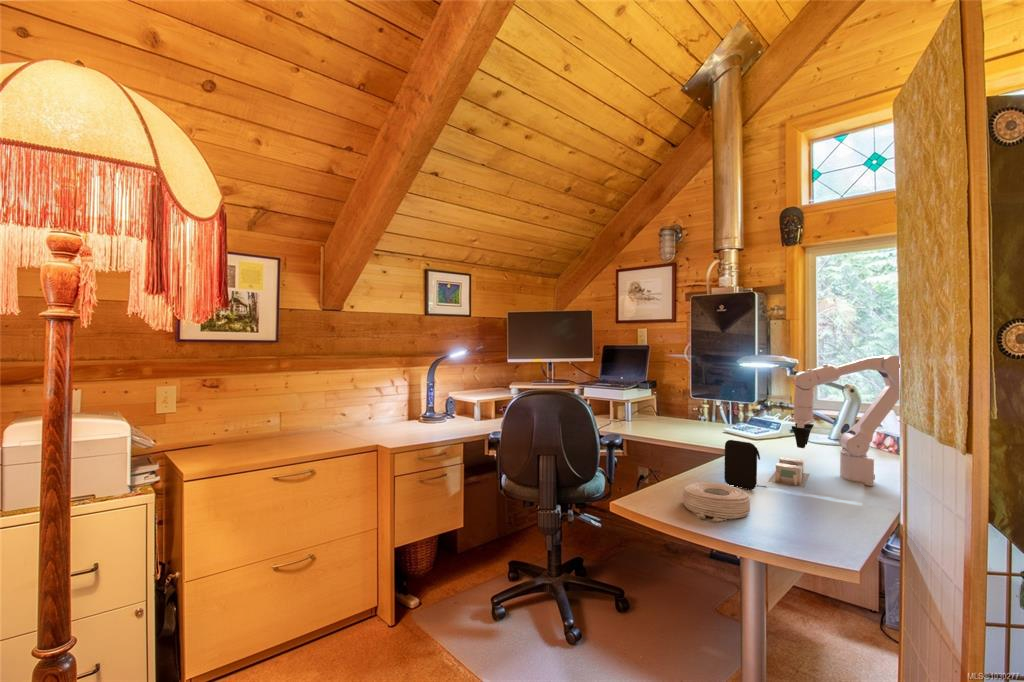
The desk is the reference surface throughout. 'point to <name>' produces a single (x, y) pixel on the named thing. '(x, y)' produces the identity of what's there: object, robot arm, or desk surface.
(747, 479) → the carrying case or bag
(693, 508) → the cable
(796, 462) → the tan rectangular block
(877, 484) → the desk surface
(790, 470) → the light wooden block
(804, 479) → the grey peg board
